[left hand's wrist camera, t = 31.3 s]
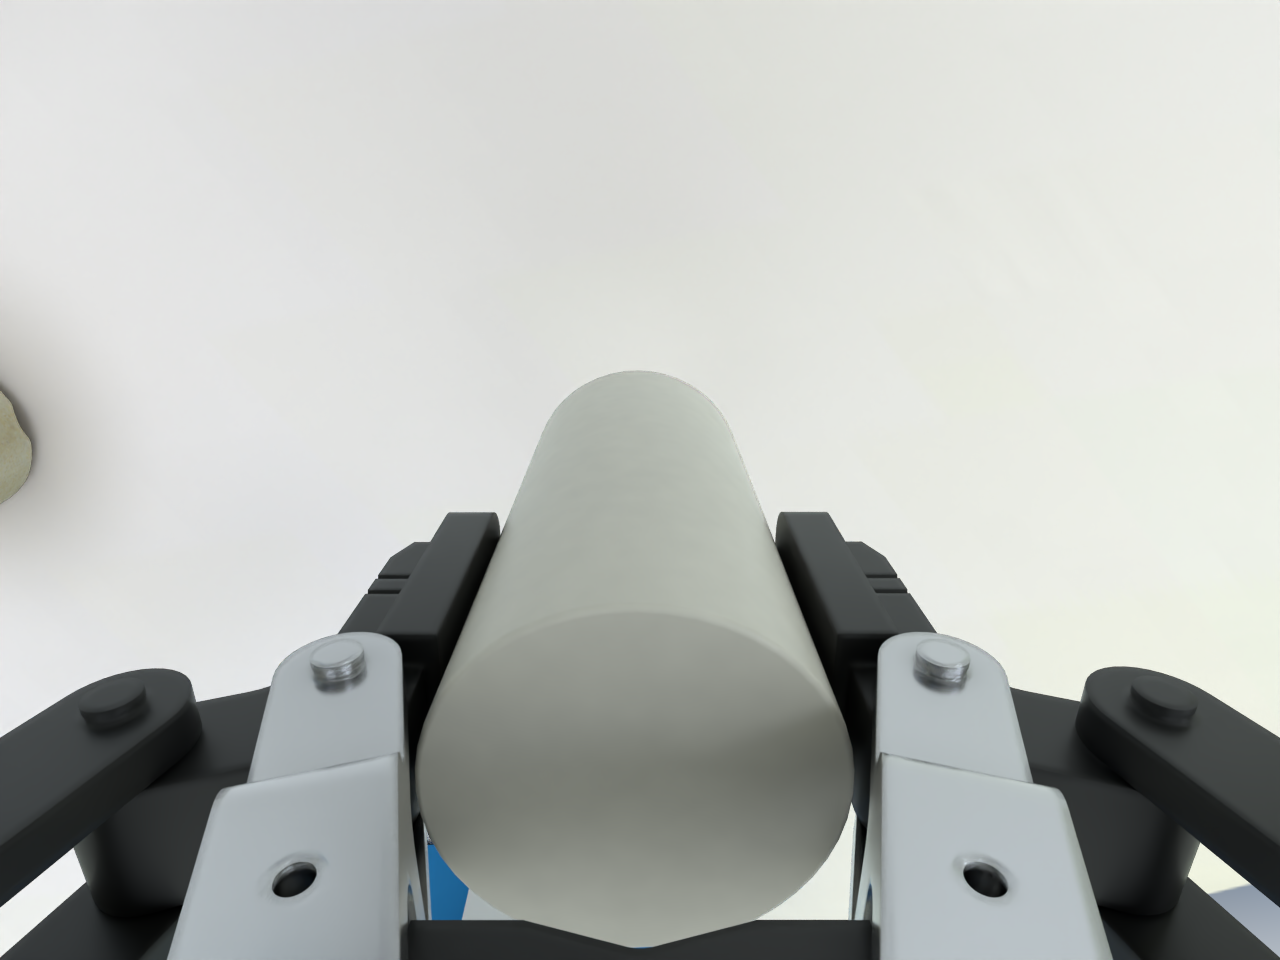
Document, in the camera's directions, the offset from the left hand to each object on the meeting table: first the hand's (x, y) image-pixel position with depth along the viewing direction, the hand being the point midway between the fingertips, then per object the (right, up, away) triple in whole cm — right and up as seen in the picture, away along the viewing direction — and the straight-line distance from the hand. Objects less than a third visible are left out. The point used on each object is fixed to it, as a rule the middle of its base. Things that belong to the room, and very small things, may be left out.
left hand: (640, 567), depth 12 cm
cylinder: (0, +2, +5) cm, 5 cm away
